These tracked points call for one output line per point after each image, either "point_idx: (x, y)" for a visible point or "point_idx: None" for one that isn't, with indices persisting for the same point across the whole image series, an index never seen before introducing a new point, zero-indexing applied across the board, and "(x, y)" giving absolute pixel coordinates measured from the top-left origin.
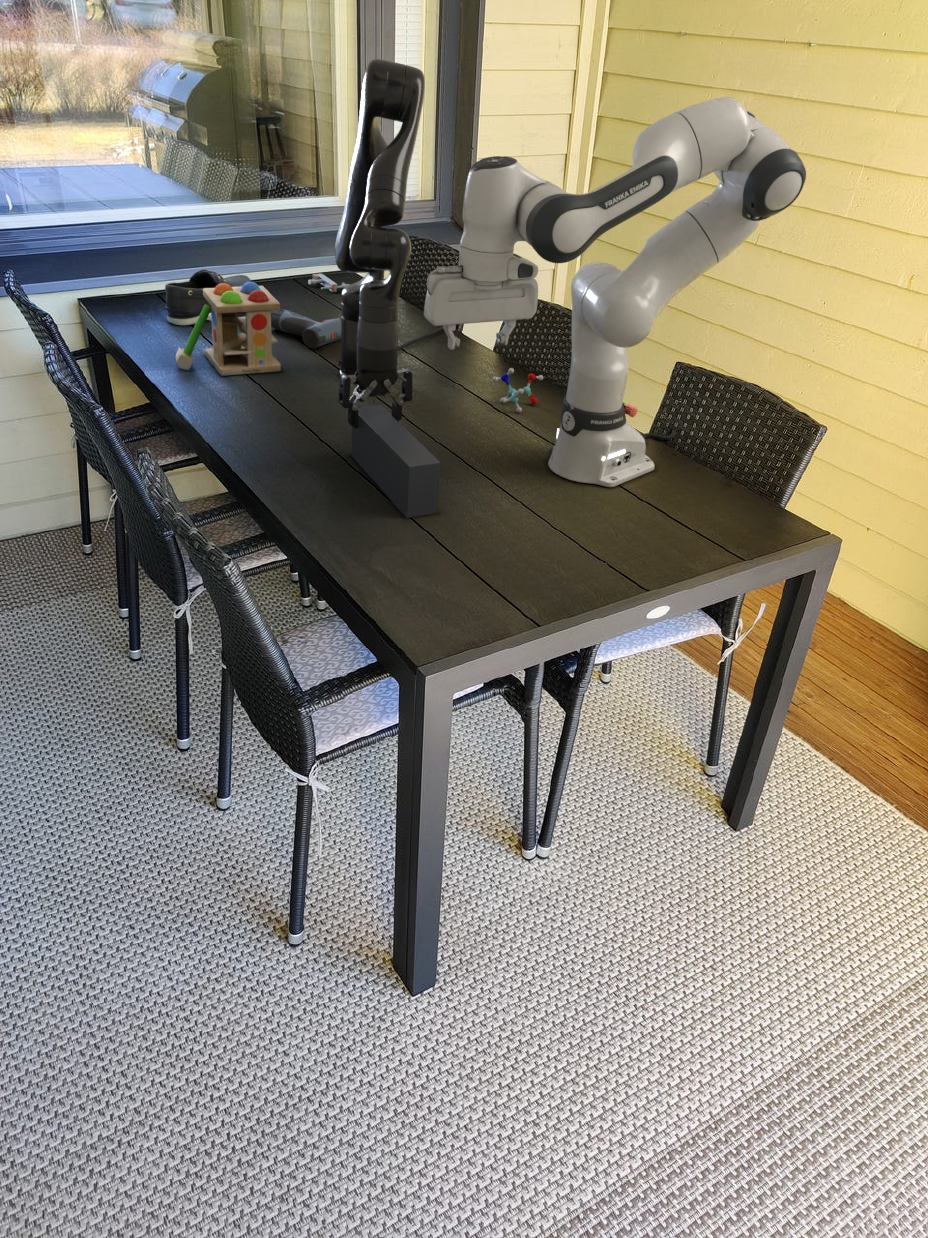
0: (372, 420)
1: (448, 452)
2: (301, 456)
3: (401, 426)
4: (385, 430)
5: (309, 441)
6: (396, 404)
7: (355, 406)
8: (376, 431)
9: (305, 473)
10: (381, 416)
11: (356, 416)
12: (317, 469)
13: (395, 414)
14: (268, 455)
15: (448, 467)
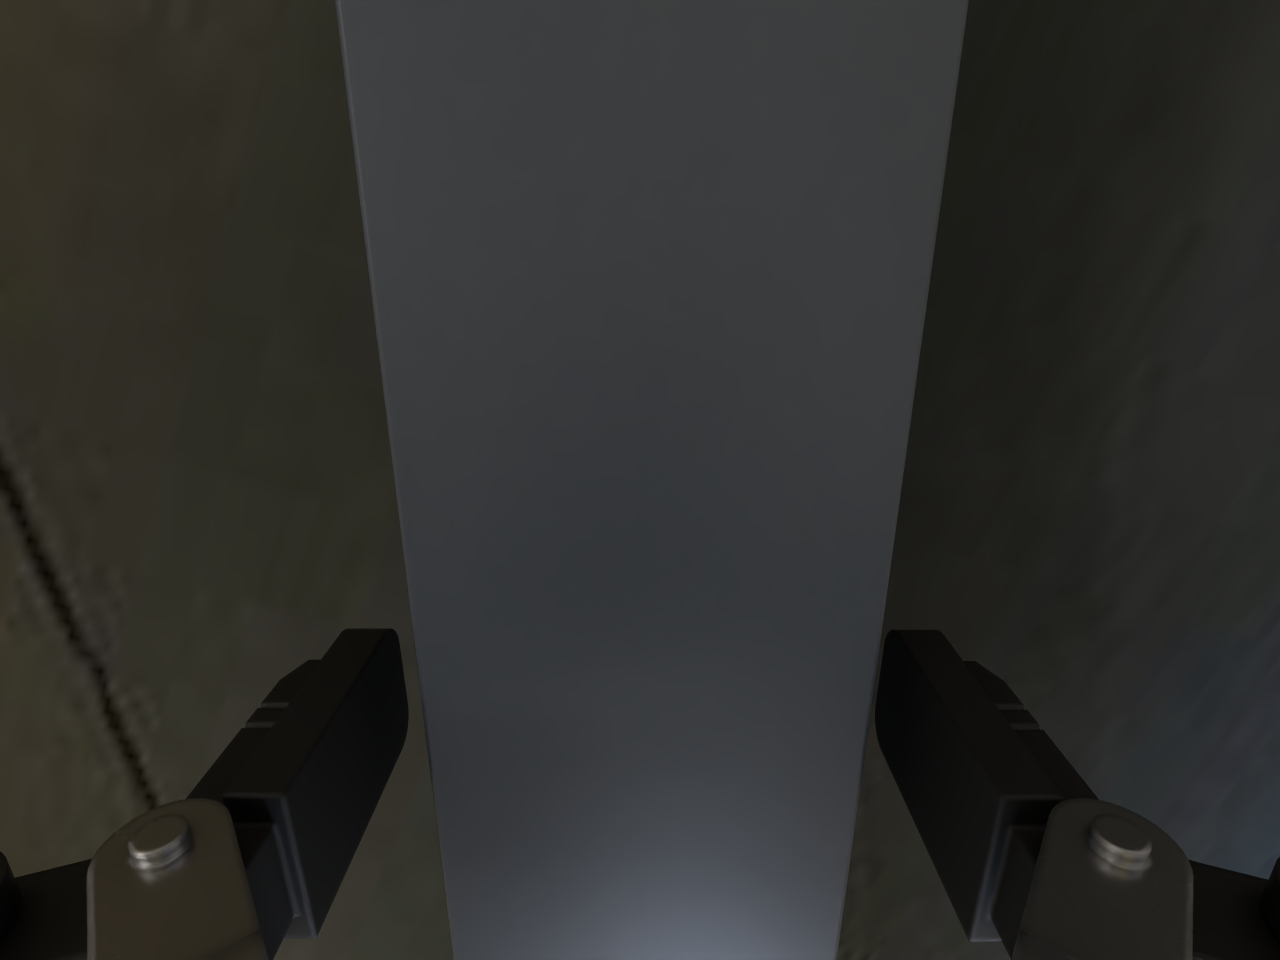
0: (771, 602)
1: (38, 498)
2: (1045, 704)
3: (396, 264)
4: (747, 170)
5: (895, 856)
6: (267, 842)
7: (1117, 861)
8: (923, 176)
9: (1162, 480)
10: (580, 691)
11: (987, 724)
12: (1054, 513)
13: (352, 713)
14: (1218, 763)
15: (90, 257)
